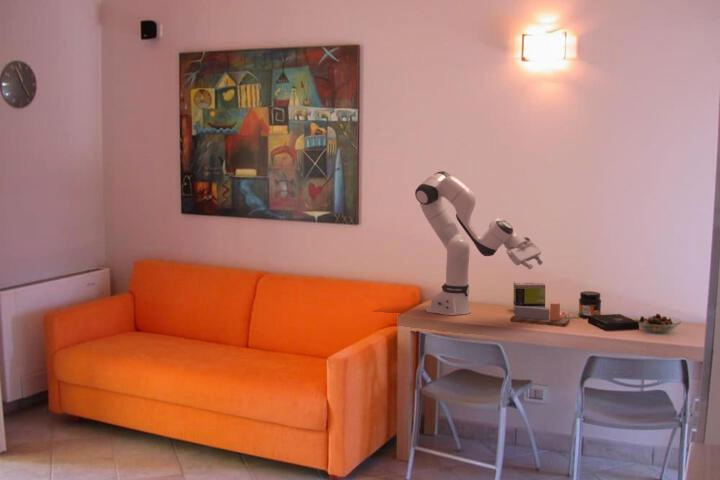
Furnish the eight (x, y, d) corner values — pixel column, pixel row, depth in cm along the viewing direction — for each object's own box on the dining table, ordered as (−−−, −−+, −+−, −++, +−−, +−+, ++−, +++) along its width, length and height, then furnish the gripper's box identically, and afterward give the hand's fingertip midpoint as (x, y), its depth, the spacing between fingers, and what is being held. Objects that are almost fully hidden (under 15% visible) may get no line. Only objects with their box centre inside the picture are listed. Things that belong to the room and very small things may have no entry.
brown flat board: (510, 321, 374) (510, 318, 373) (515, 317, 383) (515, 313, 382) (565, 326, 363) (565, 323, 362) (569, 322, 372) (569, 318, 371)
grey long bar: (514, 316, 376) (514, 306, 376) (515, 315, 379) (516, 305, 378) (547, 320, 370) (548, 309, 369) (548, 318, 372) (549, 308, 371)
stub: (549, 320, 369) (550, 303, 368) (550, 318, 371) (551, 302, 370) (558, 320, 368) (558, 304, 367) (559, 319, 370) (559, 303, 369)
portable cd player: (639, 330, 358) (639, 321, 358) (605, 332, 355) (605, 323, 354) (620, 322, 374) (620, 314, 373) (587, 323, 371) (588, 315, 370)
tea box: (542, 309, 400) (543, 281, 398) (545, 313, 390) (546, 284, 388) (512, 309, 401) (513, 280, 400) (514, 313, 391) (515, 284, 390)
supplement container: (584, 319, 377) (585, 295, 375) (574, 315, 387) (575, 291, 386) (604, 318, 379) (605, 294, 378) (593, 314, 389) (594, 290, 388)
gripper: (508, 245, 363) (528, 266, 357) (530, 236, 377) (550, 256, 372) (501, 254, 366) (521, 275, 361) (523, 245, 381) (543, 265, 376)
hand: (536, 266), depth 367 cm, fingers open, 8 cm apart
